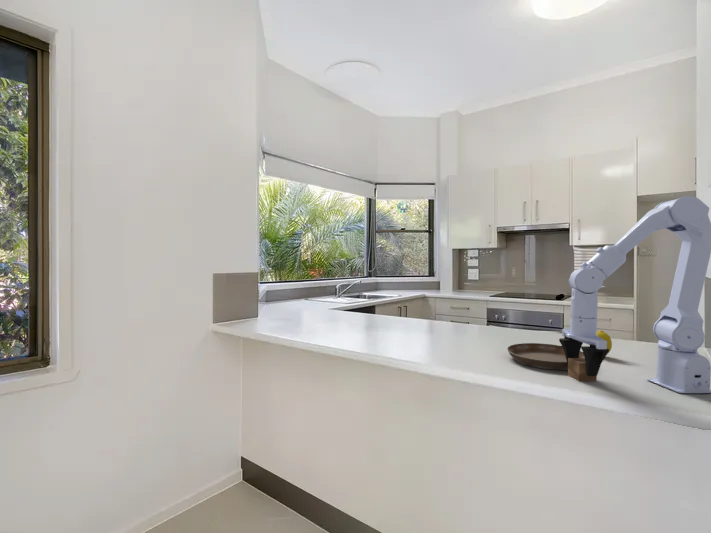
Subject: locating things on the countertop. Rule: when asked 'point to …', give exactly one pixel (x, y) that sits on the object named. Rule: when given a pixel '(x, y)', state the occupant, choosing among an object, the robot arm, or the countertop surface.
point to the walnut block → (579, 370)
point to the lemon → (605, 338)
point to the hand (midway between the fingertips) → (581, 371)
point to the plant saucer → (540, 355)
